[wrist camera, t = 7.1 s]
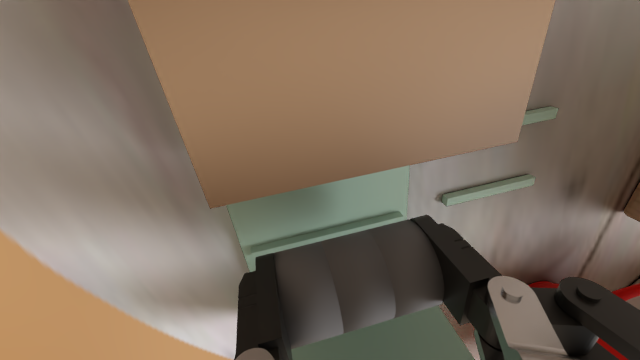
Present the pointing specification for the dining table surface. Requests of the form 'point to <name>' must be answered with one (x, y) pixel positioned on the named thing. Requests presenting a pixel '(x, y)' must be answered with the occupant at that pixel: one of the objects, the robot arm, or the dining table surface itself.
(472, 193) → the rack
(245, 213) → the roller track
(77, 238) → the dining table surface
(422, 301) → the roller
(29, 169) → the dining table surface
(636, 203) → the wooden block
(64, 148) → the dining table surface
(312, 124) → the walnut slab
